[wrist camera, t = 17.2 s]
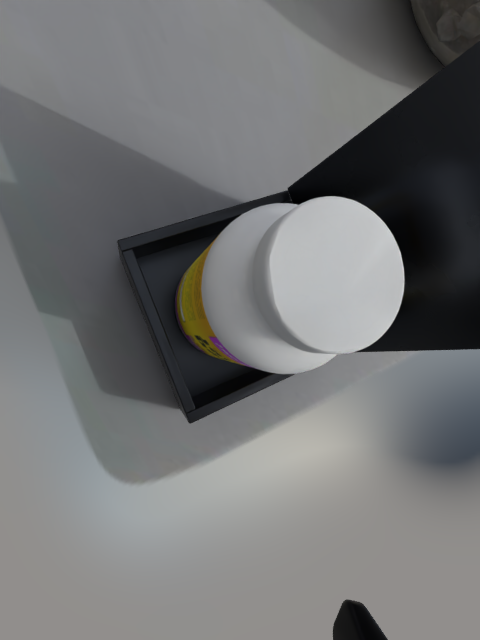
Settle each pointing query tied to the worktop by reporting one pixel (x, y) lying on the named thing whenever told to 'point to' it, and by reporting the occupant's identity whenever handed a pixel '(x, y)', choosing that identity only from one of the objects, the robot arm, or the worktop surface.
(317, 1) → the worktop surface
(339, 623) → the robot arm
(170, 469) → the worktop surface
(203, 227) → the black open box
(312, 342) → the supplement bottle
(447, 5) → the bowl
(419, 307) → the lid
